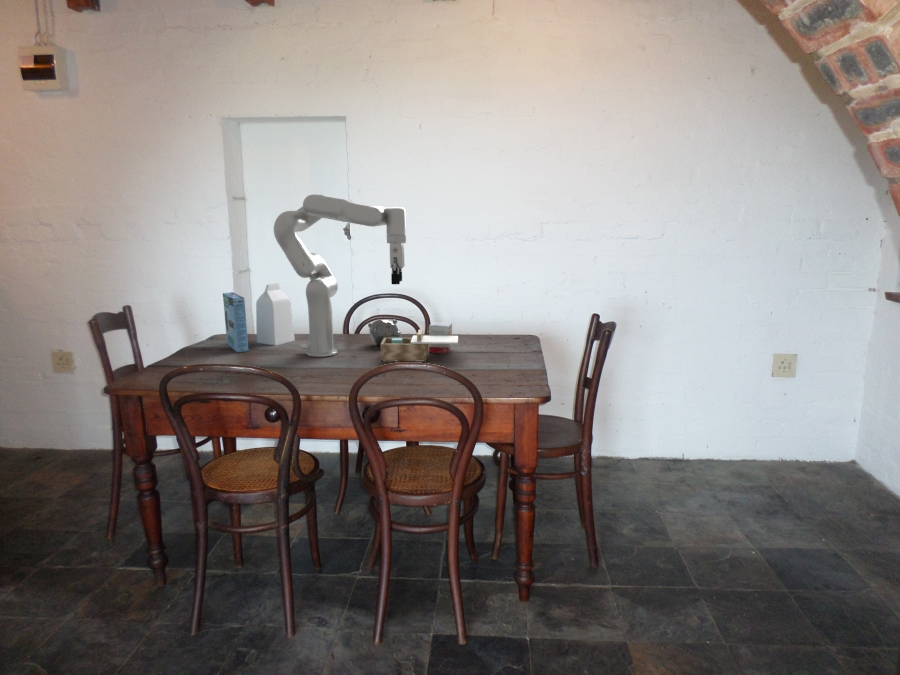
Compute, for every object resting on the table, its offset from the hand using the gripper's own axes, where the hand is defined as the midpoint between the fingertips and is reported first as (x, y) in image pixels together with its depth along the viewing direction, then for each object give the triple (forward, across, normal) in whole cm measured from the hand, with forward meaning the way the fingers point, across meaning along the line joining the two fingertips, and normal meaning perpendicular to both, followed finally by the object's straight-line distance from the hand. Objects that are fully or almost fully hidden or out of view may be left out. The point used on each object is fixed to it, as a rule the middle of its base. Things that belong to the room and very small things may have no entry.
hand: (396, 282), depth 250 cm
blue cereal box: (+31, +14, +71) cm, 79 cm away
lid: (+23, -2, -15) cm, 28 cm away
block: (+30, -2, 0) cm, 30 cm away
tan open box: (+30, -2, -3) cm, 31 cm away
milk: (+31, +27, +58) cm, 71 cm away
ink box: (+31, +11, -17) cm, 37 cm away
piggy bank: (+31, +21, +8) cm, 38 cm away
